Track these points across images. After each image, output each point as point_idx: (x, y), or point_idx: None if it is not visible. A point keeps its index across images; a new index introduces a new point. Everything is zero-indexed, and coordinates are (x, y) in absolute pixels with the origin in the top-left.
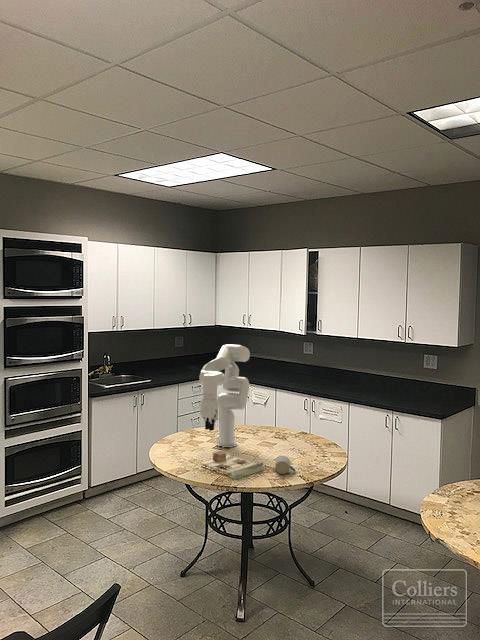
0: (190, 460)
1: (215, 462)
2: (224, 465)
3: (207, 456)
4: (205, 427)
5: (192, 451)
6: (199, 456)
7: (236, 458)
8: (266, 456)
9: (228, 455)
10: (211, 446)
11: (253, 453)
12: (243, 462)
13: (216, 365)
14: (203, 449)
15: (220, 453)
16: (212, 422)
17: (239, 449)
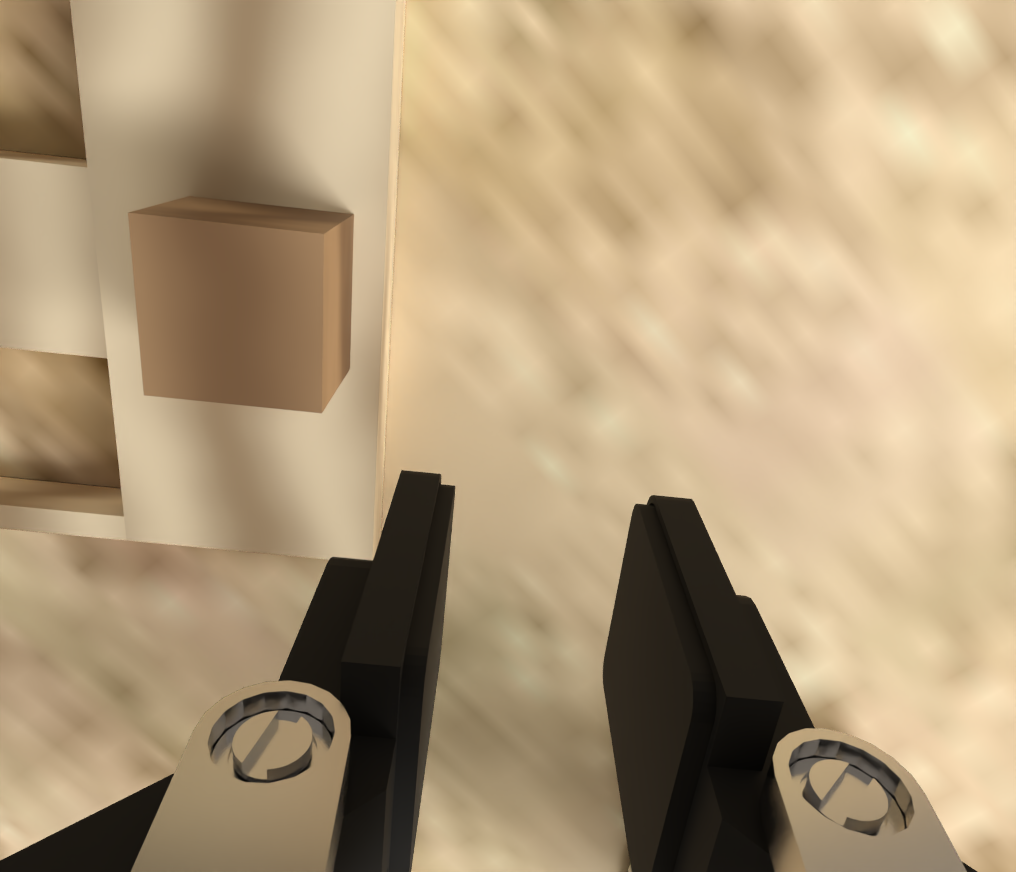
0: (779, 85)
1: (228, 145)
2: (42, 159)
3: (670, 420)
4: (684, 533)
5: (1010, 452)
6: (774, 344)
7: (158, 512)
8: None
9: (345, 542)
10: (885, 745)
11: None
12: (36, 493)
13: None
14: (911, 606)
15: (186, 300)
16: (160, 794)
17: (517, 840)
